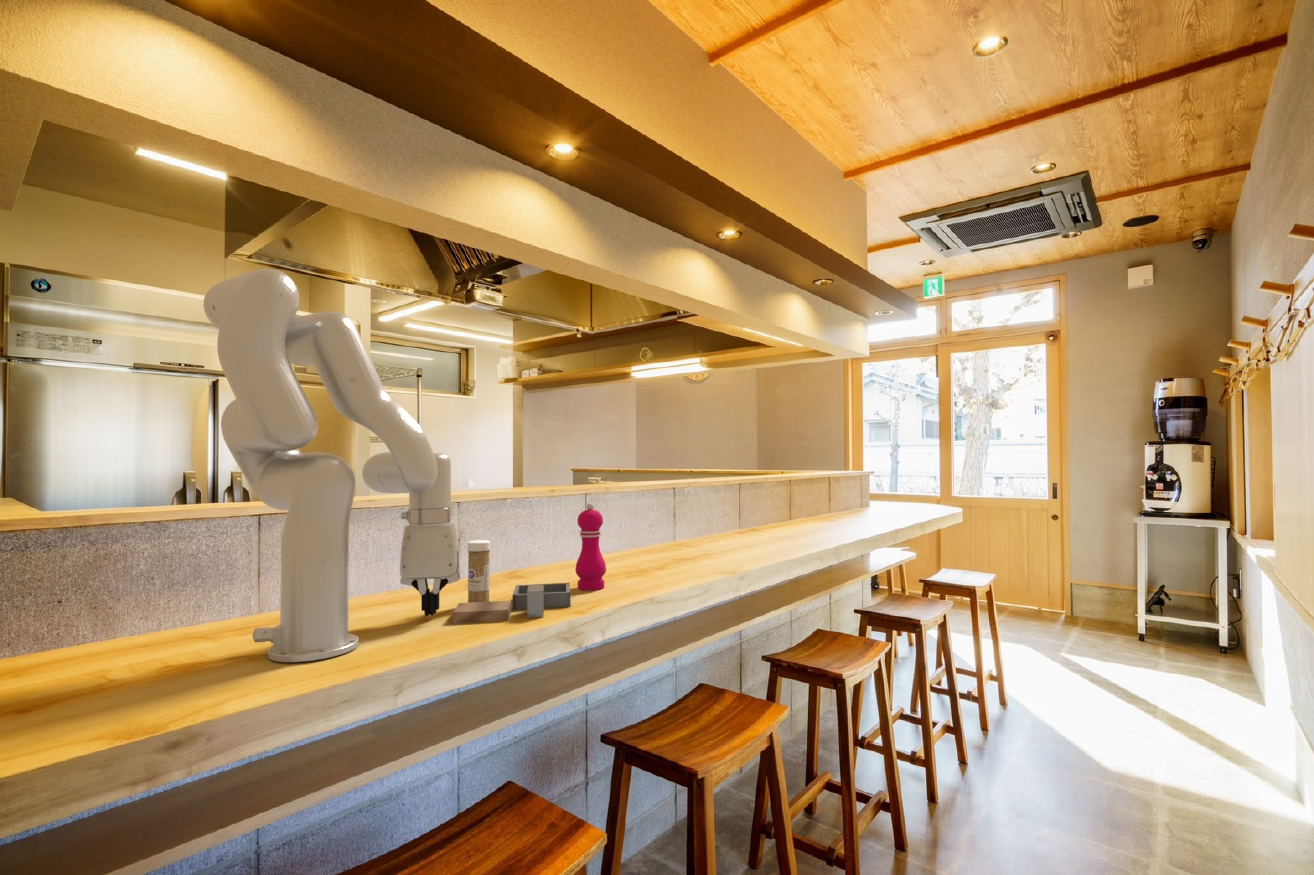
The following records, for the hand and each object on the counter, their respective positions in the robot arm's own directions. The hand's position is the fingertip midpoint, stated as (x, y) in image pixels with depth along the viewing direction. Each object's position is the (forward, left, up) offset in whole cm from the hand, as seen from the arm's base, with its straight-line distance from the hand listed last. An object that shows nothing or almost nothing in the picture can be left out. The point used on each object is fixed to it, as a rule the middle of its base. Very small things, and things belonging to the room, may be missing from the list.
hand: (430, 613), depth 116 cm
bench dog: (+20, 0, -1) cm, 20 cm away
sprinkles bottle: (+8, +10, -1) cm, 13 cm away
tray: (+21, +10, -1) cm, 23 cm away
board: (+10, 0, -2) cm, 10 cm away
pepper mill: (+32, +23, -1) cm, 39 cm away
